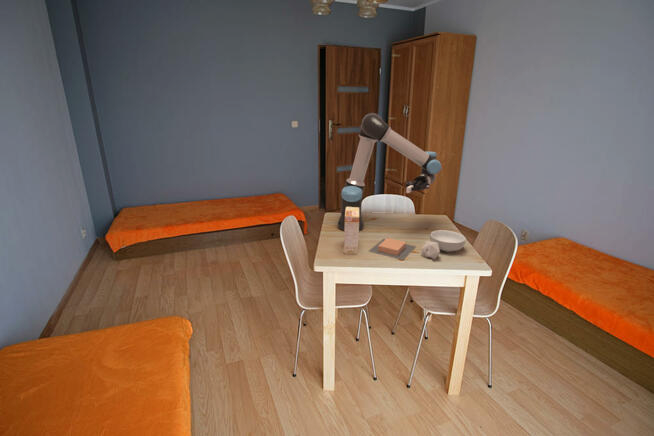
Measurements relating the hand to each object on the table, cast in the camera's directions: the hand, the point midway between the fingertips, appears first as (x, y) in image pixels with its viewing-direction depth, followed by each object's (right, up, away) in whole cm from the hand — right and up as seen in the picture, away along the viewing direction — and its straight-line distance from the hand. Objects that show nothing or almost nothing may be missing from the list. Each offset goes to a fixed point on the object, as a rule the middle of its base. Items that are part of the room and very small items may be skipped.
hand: (407, 190), depth 176 cm
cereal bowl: (+20, -30, 0) cm, 36 cm away
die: (+8, -33, -10) cm, 35 cm away
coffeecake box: (-29, -29, 0) cm, 41 cm away
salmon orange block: (-6, -27, 0) cm, 27 cm away
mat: (-8, -30, -3) cm, 32 cm away
